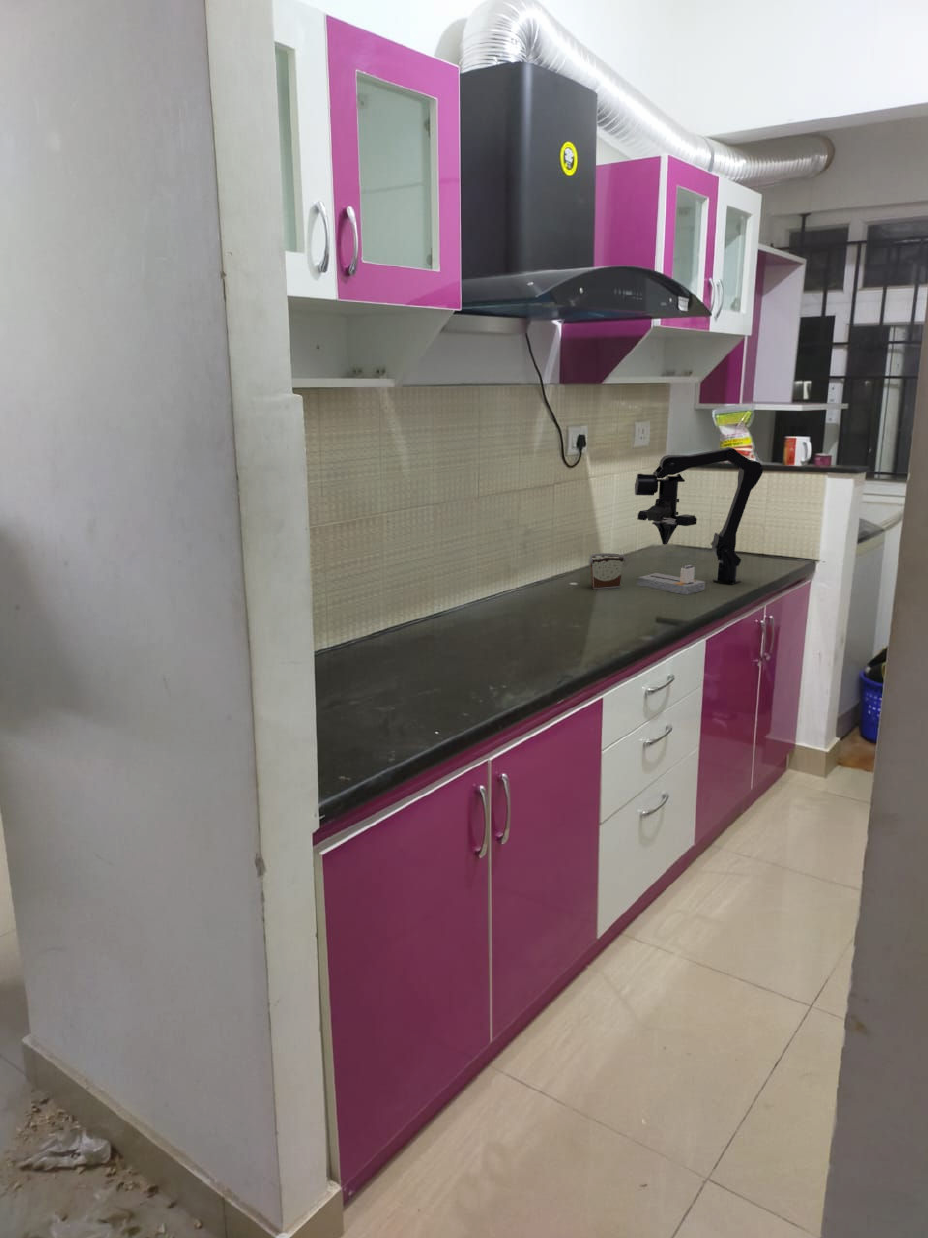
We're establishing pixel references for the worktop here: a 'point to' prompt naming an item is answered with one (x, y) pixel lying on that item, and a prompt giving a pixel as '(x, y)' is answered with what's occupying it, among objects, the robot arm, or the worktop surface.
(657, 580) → the console
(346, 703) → the worktop surface
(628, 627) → the worktop surface
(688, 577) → the fader tab
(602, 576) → the food container
